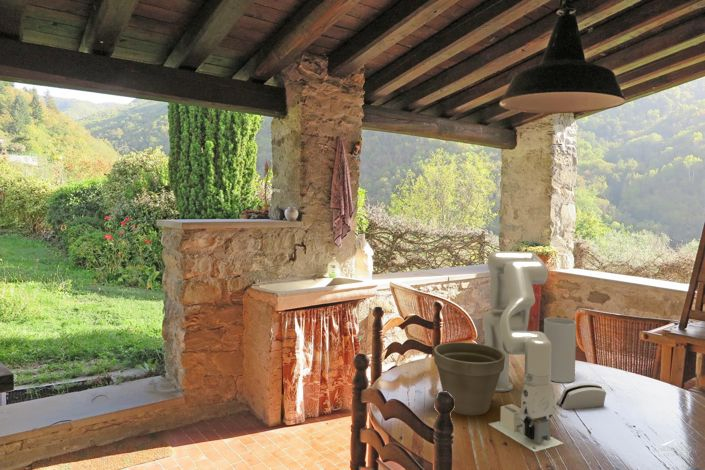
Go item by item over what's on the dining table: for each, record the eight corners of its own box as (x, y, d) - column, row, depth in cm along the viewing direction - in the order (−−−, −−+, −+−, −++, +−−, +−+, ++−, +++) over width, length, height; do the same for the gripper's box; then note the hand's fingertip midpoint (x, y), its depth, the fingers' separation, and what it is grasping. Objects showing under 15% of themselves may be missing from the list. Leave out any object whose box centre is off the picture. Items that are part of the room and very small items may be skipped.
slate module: (523, 434, 146) (523, 415, 146) (535, 431, 148) (535, 412, 148) (538, 443, 141) (538, 423, 140) (550, 440, 143) (550, 420, 143)
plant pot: (516, 409, 170) (517, 350, 169) (482, 432, 152) (482, 367, 151) (456, 391, 187) (457, 337, 186) (419, 409, 170) (420, 350, 169)
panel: (488, 427, 156) (488, 420, 156) (515, 420, 161) (515, 413, 161) (534, 455, 138) (534, 447, 138) (563, 447, 143) (563, 439, 143)
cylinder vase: (537, 377, 202) (538, 320, 201) (551, 371, 210) (552, 316, 209) (566, 385, 193) (567, 325, 191) (579, 378, 201) (581, 321, 199)
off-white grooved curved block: (595, 400, 178) (601, 379, 174) (603, 409, 173) (610, 388, 170) (555, 403, 175) (561, 382, 171) (562, 412, 171) (568, 391, 167)
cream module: (500, 424, 155) (500, 405, 155) (511, 421, 158) (512, 403, 157) (513, 431, 150) (513, 412, 150) (525, 428, 152) (525, 410, 152)
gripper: (526, 386, 137) (525, 447, 138) (567, 377, 144) (566, 435, 145) (507, 378, 143) (506, 436, 144) (547, 370, 151) (546, 425, 152)
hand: (536, 435), depth 145 cm, fingers closed on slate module, 5 cm apart
